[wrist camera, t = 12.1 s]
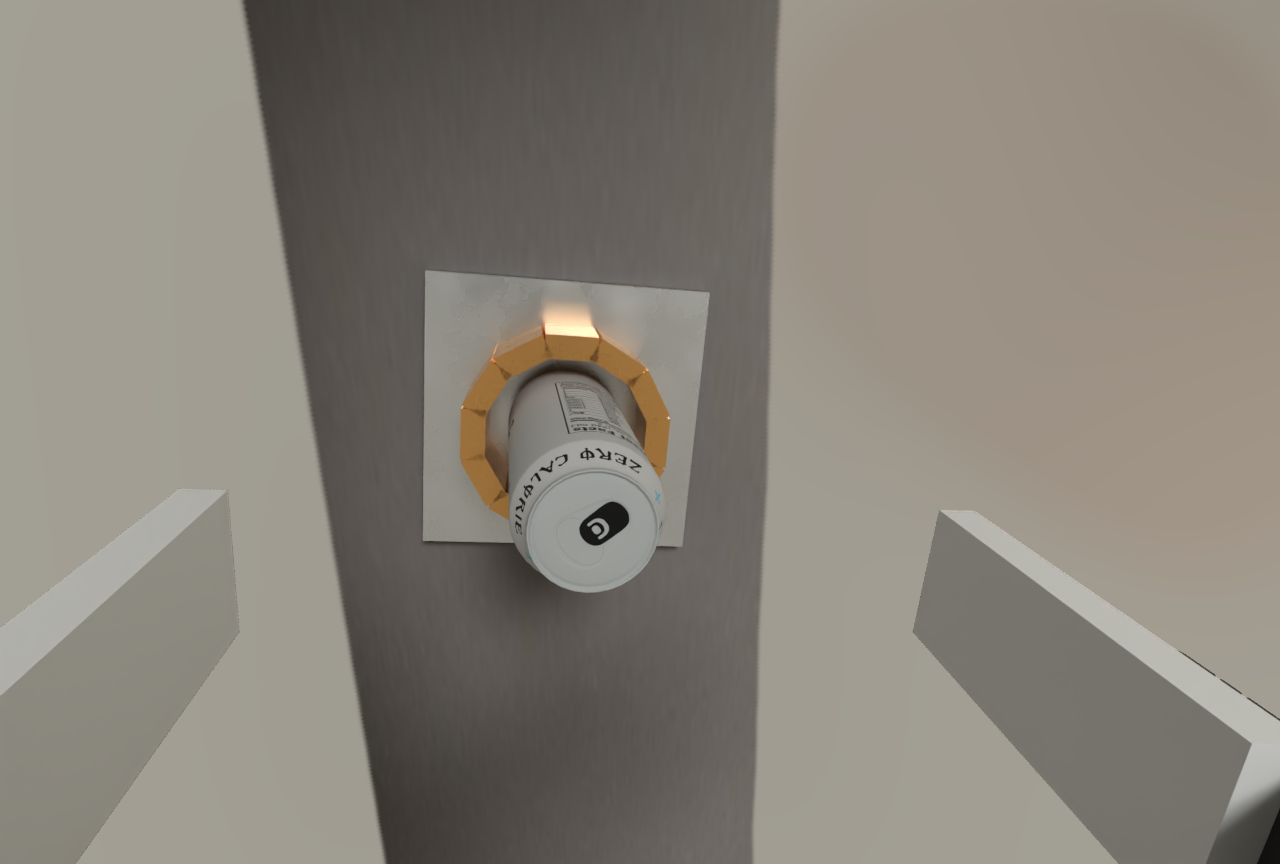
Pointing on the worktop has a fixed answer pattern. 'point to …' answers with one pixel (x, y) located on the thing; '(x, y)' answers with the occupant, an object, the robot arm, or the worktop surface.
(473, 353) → the keeper
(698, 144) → the worktop surface
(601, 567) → the energy drink can
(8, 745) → the robot arm
